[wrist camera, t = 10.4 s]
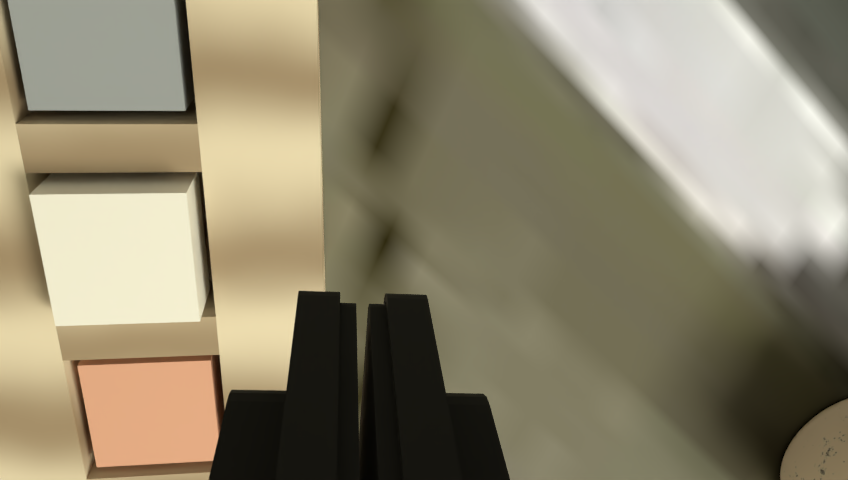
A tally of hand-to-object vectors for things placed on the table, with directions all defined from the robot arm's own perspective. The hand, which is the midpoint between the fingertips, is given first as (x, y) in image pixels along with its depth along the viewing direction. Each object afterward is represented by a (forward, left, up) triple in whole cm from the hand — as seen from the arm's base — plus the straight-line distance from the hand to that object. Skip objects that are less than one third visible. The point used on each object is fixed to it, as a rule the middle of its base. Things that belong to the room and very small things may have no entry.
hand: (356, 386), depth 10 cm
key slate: (-2, -8, -19) cm, 21 cm away
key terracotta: (+13, -8, -19) cm, 25 cm away
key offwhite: (+5, -8, -18) cm, 20 cm away
